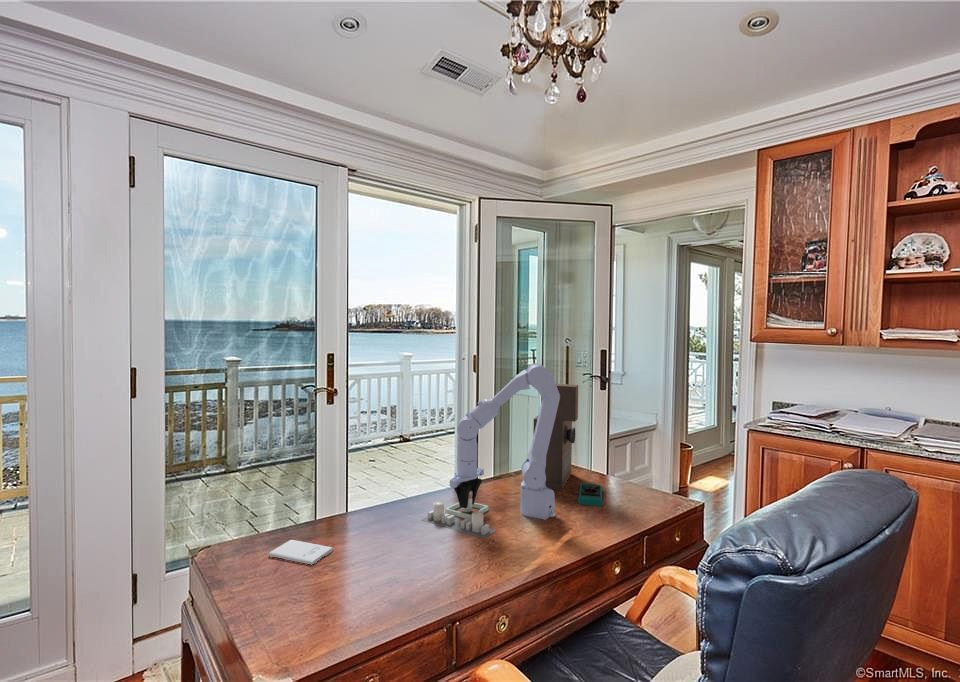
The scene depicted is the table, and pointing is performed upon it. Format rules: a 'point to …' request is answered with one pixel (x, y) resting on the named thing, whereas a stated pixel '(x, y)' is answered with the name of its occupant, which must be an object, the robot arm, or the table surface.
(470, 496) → the cylinder
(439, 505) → the white glossy rounded part
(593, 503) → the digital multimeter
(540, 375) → the robot arm
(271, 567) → the table surface
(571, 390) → the tall box with knob
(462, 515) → the tray
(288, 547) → the external hard drive
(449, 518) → the fuse board
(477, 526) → the cylinder
